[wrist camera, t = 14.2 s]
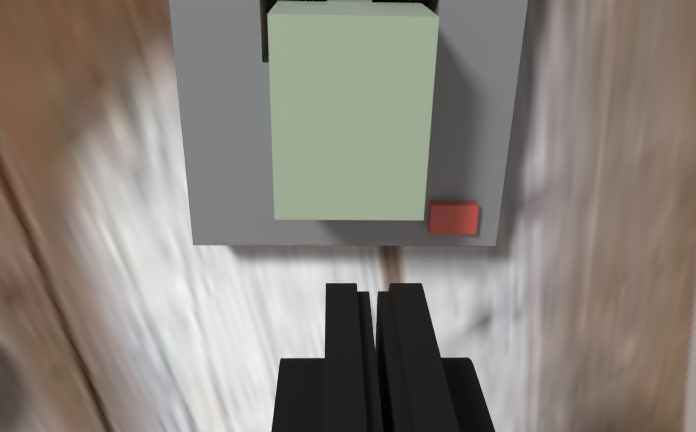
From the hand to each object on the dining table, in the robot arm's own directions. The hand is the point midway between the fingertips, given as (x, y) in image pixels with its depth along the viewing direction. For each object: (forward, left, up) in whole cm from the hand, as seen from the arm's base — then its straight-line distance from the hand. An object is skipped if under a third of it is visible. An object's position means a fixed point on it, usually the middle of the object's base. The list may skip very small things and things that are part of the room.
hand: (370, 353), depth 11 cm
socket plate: (0, 0, -23) cm, 23 cm away
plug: (0, 0, -23) cm, 23 cm away
